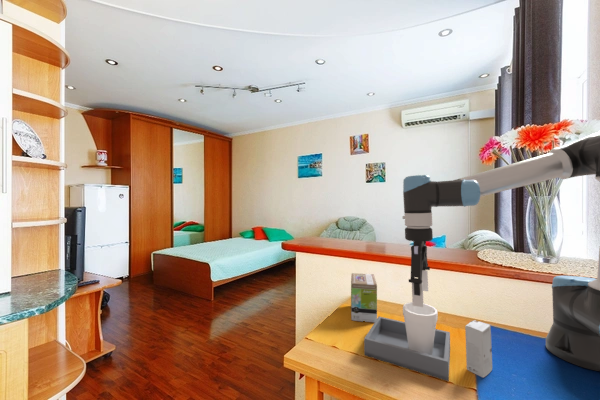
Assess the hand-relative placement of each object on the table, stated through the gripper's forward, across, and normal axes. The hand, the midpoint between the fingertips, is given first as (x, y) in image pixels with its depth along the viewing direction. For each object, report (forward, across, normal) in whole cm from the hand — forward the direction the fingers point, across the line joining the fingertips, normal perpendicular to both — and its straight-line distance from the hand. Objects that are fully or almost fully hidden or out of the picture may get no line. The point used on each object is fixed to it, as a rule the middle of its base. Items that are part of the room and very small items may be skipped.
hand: (421, 297), depth 76 cm
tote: (+17, 0, -4) cm, 18 cm away
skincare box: (+18, -1, +14) cm, 23 cm away
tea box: (+17, -19, -24) cm, 35 cm away
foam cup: (+16, 0, -1) cm, 17 cm away
